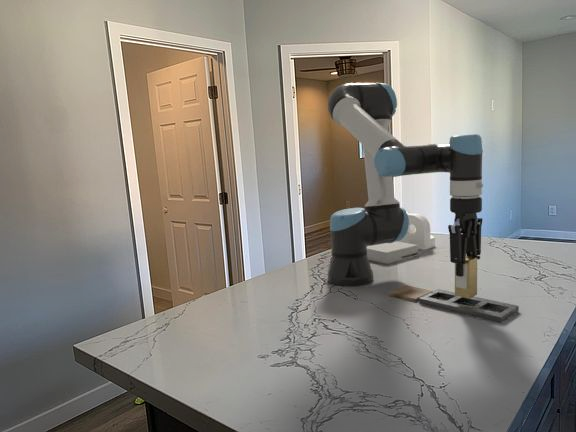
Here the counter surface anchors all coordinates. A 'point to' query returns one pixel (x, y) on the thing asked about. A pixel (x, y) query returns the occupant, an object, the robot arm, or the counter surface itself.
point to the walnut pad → (409, 293)
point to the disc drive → (391, 252)
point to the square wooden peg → (468, 279)
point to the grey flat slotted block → (474, 311)
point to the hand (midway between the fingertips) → (465, 285)
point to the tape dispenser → (418, 232)
